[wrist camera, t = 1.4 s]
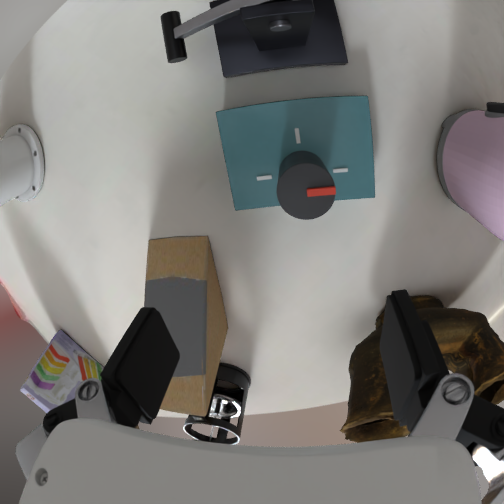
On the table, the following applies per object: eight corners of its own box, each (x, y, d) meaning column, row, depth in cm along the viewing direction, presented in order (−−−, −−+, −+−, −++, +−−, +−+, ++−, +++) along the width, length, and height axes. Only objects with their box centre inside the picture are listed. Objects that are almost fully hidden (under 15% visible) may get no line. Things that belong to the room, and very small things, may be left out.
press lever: (181, 62, 20) (160, 63, 19) (174, 19, 18) (153, 17, 16) (306, 21, 13) (290, 13, 12) (292, -32, 11) (274, -44, 9)
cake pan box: (125, 383, 54) (97, 445, 39) (116, 386, 56) (88, 444, 41) (62, 326, 48) (20, 385, 33) (56, 333, 50) (17, 388, 35)
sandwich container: (209, 234, 33) (162, 322, 20) (230, 329, 40) (207, 418, 27) (147, 238, 34) (82, 314, 21) (176, 327, 42) (142, 406, 29)
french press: (256, 393, 48) (239, 505, 28) (210, 393, 50) (183, 496, 30) (240, 355, 43) (212, 491, 23) (188, 356, 45) (145, 476, 25)
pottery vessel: (482, 270, 30) (550, 369, 13) (471, 323, 35) (515, 416, 18) (326, 310, 37) (338, 449, 19) (335, 359, 41) (343, 475, 24)
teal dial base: (242, 212, 31) (237, 223, 28) (222, 111, 26) (215, 111, 23) (367, 200, 29) (375, 210, 26) (359, 96, 23) (368, 95, 21)
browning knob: (282, 197, 27) (280, 223, 21) (275, 153, 25) (272, 167, 19) (327, 193, 26) (338, 218, 20) (323, 148, 24) (334, 161, 18)
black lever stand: (226, 77, 24) (186, 61, 14) (212, 5, 20) (170, -40, 10) (345, 64, 22) (381, 40, 12) (328, -9, 18) (348, -63, 7)
